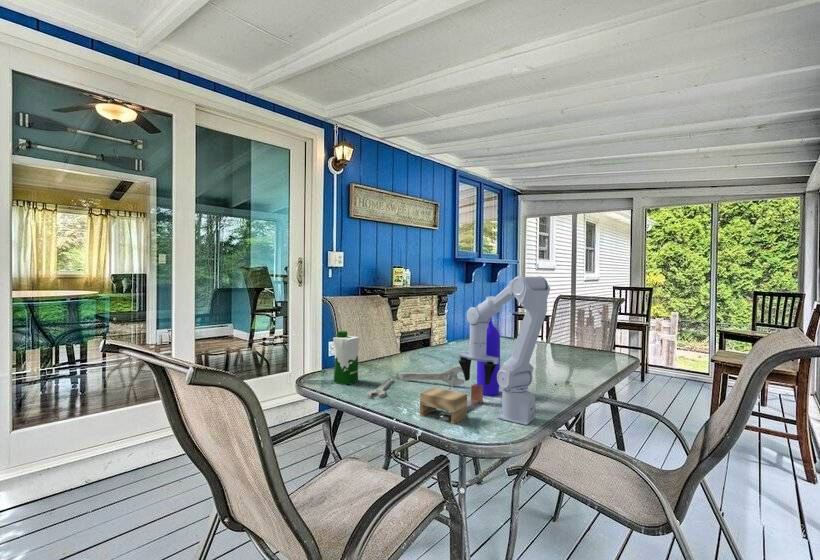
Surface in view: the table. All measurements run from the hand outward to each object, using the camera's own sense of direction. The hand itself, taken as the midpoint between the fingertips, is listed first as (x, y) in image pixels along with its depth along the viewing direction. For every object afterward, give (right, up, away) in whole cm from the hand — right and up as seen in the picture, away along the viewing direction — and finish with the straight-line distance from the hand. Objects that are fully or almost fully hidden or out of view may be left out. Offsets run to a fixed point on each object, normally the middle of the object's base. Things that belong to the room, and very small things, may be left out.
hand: (477, 382), depth 144 cm
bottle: (+6, -7, +12) cm, 15 cm away
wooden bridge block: (-13, -7, -14) cm, 20 cm away
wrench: (-15, -7, +24) cm, 29 cm away
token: (-12, -7, -17) cm, 22 cm away
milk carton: (-49, -6, +25) cm, 55 cm away
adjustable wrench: (-33, -7, +15) cm, 37 cm away
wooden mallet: (-4, -7, -6) cm, 10 cm away
